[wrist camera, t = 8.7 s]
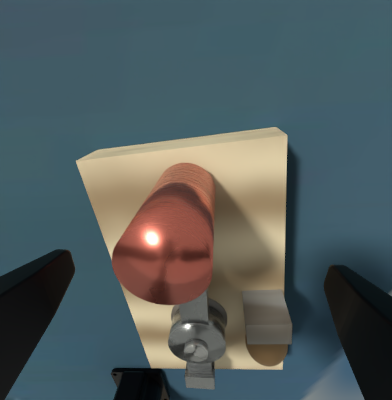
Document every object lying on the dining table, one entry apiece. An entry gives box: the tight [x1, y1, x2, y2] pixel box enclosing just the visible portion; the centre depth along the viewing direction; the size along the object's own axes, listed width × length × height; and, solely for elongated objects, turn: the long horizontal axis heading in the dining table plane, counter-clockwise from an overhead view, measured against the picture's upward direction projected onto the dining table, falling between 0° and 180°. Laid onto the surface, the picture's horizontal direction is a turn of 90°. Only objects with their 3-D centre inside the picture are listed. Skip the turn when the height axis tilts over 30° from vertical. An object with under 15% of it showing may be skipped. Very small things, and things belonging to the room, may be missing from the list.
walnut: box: [245, 335, 288, 367], centre depth 19 cm, size 3×3×3 cm
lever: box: [112, 163, 226, 389], centre depth 15 cm, size 19×4×7 cm, turn 4°
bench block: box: [76, 127, 292, 370], centre depth 19 cm, size 22×13×6 cm, turn 8°
